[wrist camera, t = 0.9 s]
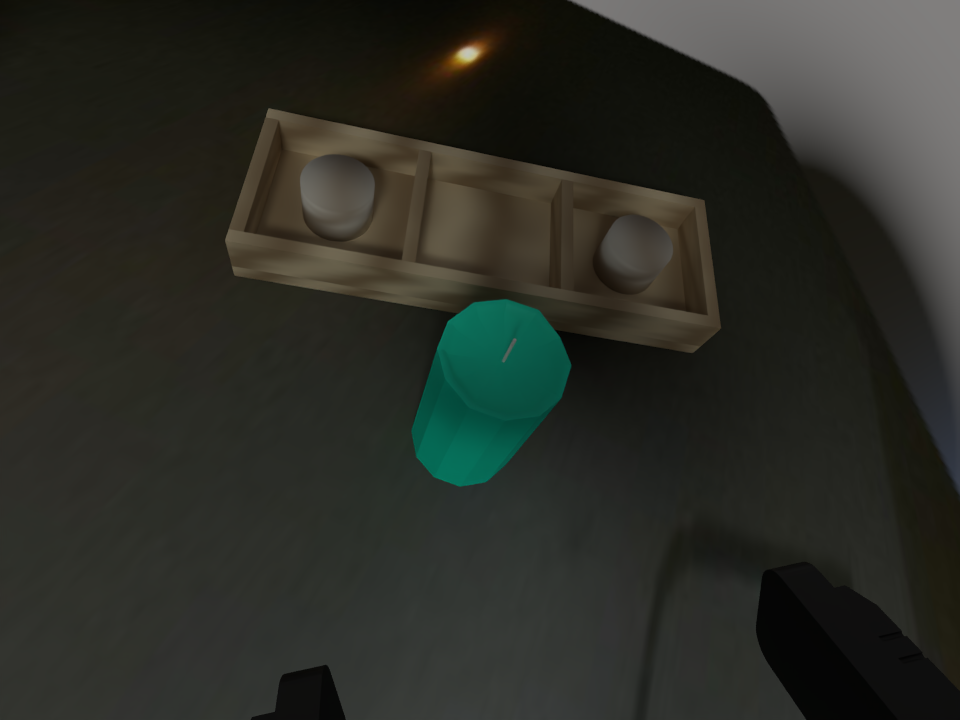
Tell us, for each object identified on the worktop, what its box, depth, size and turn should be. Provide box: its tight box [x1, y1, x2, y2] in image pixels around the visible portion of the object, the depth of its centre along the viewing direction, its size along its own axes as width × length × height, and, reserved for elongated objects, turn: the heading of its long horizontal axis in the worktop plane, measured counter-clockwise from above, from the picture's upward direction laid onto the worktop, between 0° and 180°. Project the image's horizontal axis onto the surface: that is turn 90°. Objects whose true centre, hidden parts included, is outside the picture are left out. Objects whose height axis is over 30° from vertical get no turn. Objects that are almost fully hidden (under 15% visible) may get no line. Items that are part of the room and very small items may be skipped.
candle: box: [411, 299, 571, 486], centre depth 30 cm, size 6×6×12 cm
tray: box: [225, 109, 721, 353], centre depth 40 cm, size 30×11×4 cm, turn 86°
